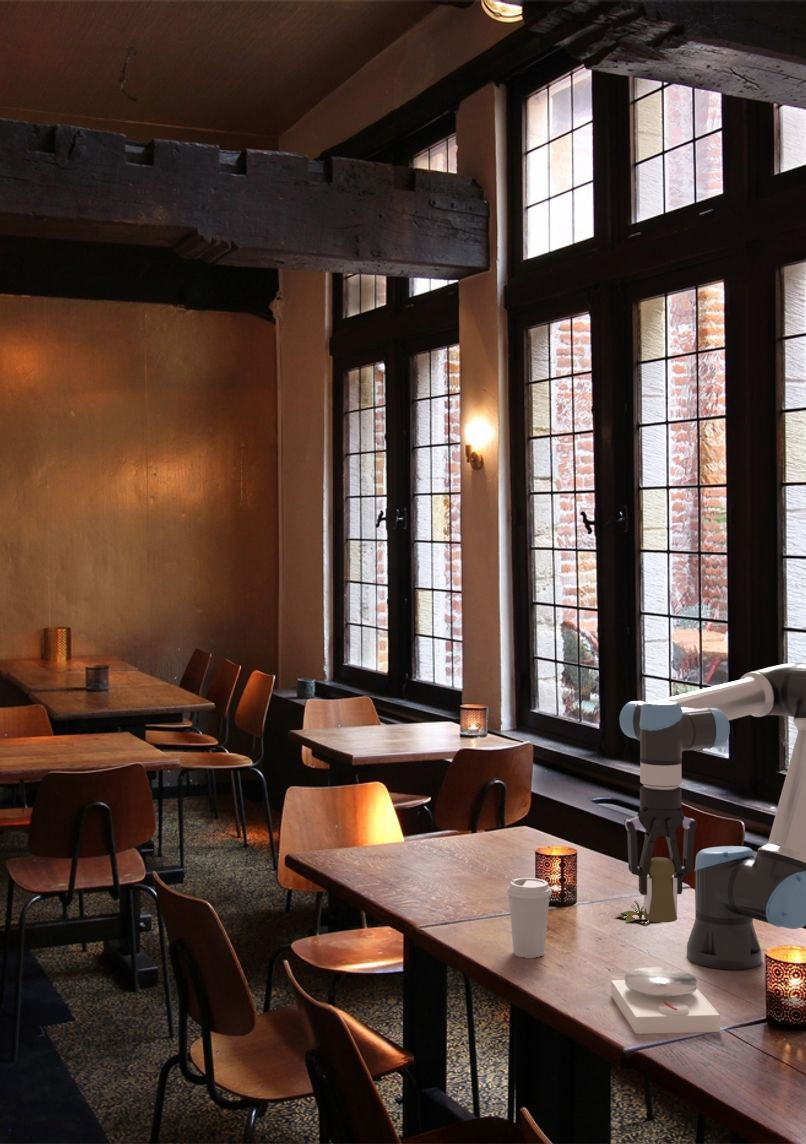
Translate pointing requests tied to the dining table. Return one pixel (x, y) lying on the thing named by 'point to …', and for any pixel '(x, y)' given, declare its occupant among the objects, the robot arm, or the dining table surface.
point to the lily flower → (631, 913)
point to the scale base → (665, 1011)
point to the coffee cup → (529, 915)
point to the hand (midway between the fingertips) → (660, 911)
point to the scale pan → (660, 982)
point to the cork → (661, 891)
